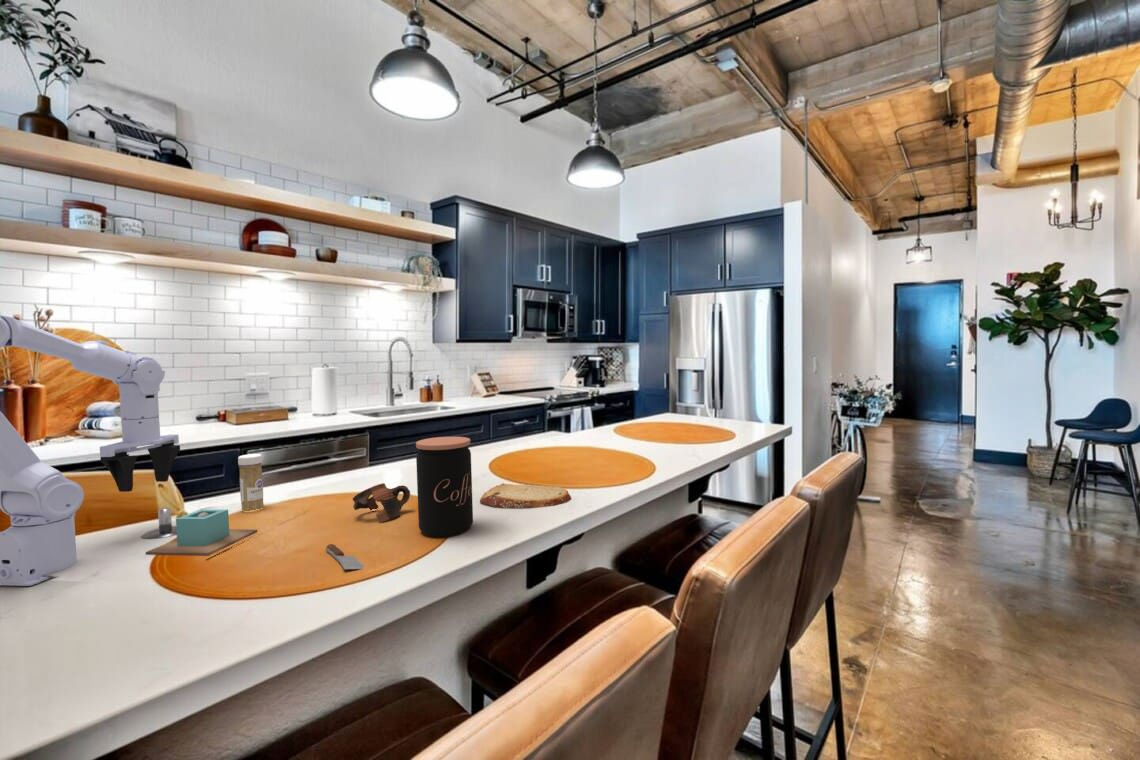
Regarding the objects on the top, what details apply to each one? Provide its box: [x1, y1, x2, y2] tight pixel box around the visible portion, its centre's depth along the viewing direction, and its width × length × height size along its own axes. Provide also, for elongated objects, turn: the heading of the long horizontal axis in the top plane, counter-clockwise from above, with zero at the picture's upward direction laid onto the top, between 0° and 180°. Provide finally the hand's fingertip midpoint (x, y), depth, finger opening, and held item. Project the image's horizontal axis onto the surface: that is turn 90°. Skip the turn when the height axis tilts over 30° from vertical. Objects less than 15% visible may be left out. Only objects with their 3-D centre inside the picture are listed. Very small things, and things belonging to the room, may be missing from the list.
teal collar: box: [175, 508, 230, 546], centre depth 94 cm, size 6×6×5 cm
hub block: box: [145, 512, 258, 561], centre depth 94 cm, size 12×12×6 cm
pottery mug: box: [352, 482, 411, 523], centre depth 111 cm, size 12×10×8 cm
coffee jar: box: [415, 436, 474, 538], centre depth 100 cm, size 11×11×18 cm
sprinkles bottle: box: [237, 453, 265, 511], centre depth 114 cm, size 5×5×13 cm
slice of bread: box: [479, 482, 572, 510], centre depth 120 cm, size 18×18×4 cm
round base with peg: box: [140, 507, 177, 540], centre depth 100 cm, size 8×8×6 cm
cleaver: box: [325, 543, 365, 570], centre depth 87 cm, size 13×2×5 cm
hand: (144, 486), depth 99 cm, fingers open, 7 cm apart
